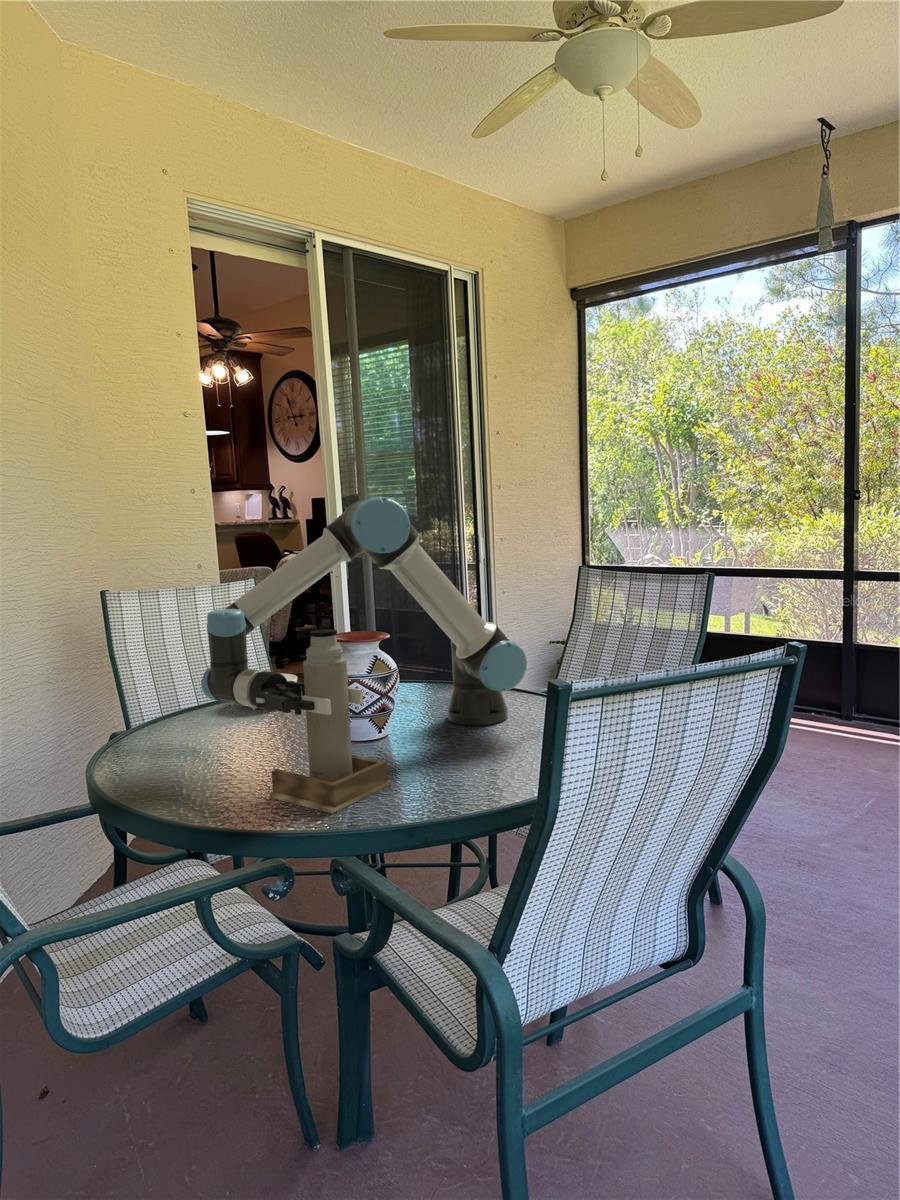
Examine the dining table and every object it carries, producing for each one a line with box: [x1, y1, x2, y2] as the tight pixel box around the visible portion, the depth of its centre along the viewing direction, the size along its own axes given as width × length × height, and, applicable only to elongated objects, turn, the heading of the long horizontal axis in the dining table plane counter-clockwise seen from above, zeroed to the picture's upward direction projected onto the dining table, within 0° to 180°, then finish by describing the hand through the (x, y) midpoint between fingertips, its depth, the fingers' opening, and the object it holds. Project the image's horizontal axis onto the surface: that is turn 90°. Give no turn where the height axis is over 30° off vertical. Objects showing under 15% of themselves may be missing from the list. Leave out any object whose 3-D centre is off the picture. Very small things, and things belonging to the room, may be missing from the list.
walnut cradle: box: [269, 754, 391, 815], centre depth 141 cm, size 16×16×5 cm
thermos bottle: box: [302, 628, 353, 782], centre depth 140 cm, size 8×8×28 cm
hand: (345, 701), depth 137 cm, fingers closed on thermos bottle, 8 cm apart
